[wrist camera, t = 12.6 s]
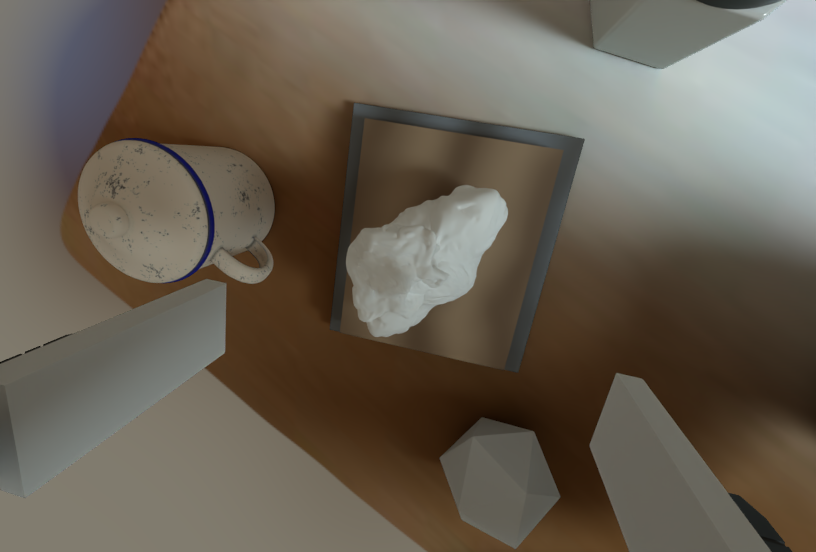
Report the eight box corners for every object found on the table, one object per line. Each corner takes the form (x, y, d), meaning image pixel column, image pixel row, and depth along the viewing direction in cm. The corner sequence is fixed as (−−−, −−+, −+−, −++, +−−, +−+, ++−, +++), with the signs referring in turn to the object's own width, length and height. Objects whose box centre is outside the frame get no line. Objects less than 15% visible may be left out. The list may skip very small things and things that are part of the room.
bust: (487, 179, 28) (383, 95, 19) (563, 246, 24) (476, 179, 15) (386, 296, 32) (261, 272, 23) (436, 372, 27) (308, 377, 19)
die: (427, 437, 36) (447, 563, 30) (448, 399, 30) (479, 549, 24) (507, 430, 38) (542, 549, 32) (544, 393, 32) (596, 531, 26)
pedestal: (580, 139, 27) (593, 137, 24) (516, 366, 32) (520, 386, 29) (358, 104, 28) (344, 98, 26) (333, 324, 34) (320, 339, 31)
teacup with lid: (162, 205, 34) (8, 227, 23) (213, 119, 31) (64, 95, 20) (268, 296, 34) (170, 360, 23) (327, 220, 31) (246, 253, 20)
